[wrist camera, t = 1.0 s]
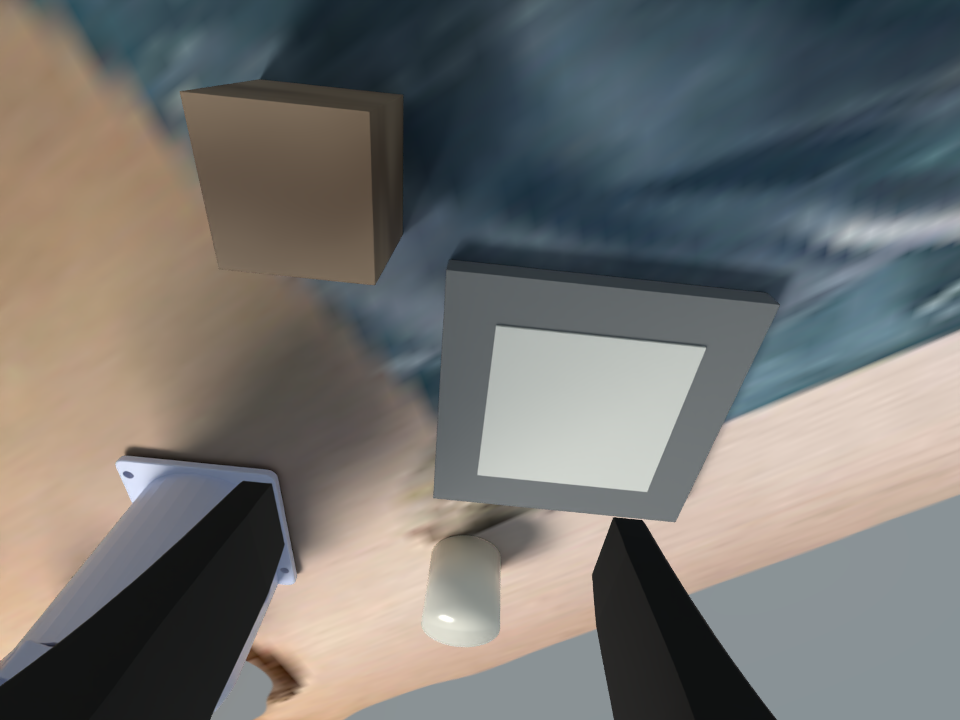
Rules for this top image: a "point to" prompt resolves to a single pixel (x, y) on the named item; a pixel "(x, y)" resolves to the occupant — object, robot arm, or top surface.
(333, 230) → the walnut block
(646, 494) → the mat
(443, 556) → the white capsule cylinder
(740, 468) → the top surface
